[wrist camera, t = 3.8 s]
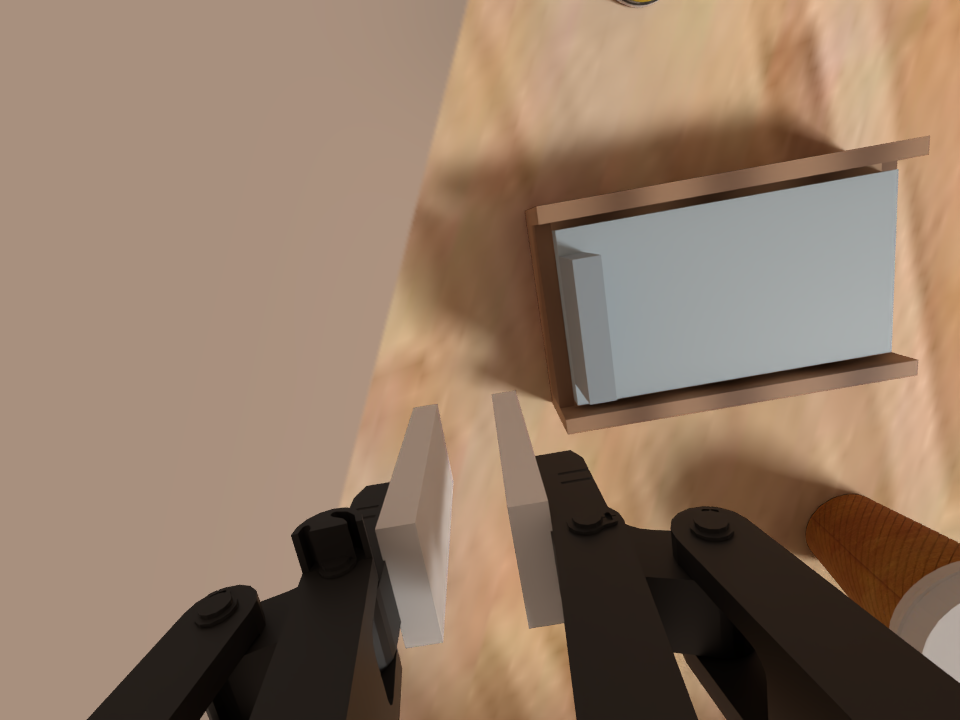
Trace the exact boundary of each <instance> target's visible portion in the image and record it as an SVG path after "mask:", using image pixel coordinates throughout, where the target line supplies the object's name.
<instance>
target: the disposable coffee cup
mask: <svg viewBox="0 0 960 720" xmlns="http://www.w3.org/2000/svg"><path fill="white" fill-rule="evenodd" d="M806 541H807V544H808V547H809V548H810V550H811V551H812V553H813V554H814V555H815V556H816V557H817V559H818V560H819V561H820V562H821V564H822V565H823V566H824V567H825V568H826V570H827V571H828V572H829V573H830V575H831V576H832V577H833V578H834V579H835V581H836V582H837V583H838V584H839V586H840V587H841V588H842V589H843V590H844V592H845V593H846V594H847V595H848V596H849V598H850V599H851V600H853V601H854V602H855V603H857V604H858V605H859V606H860V607H862V608H863V609H864V610H866V611H867V612H868V613H870V614H871V615H872V616H873V617H875V618H876V619H877V620H879V621H880V622H881V623H883V624H884V625H885V626H886V627H888V628H889V629H890V630H892V631H893V632H894V633H896V634H897V635H898V636H899V637H901V638H902V639H903V640H905V641H906V642H907V643H908V644H910V645H911V646H912V647H914V648H915V649H916V650H918V651H919V652H920V653H921V654H923V655H924V656H925V657H927V658H928V659H929V660H931V661H932V662H933V663H934V664H936V665H937V666H938V667H940V668H941V669H942V670H944V671H945V672H946V673H947V674H949V675H950V676H951V677H953V678H954V679H955V680H956V681H958V682H959V683H960V543H958V542H956V541H954V540H952V539H949V538H948V537H946V536H944V535H942V534H939V533H938V532H936V531H934V530H932V529H930V528H928V527H926V526H923V525H922V524H920V523H918V522H915V521H914V520H912V519H910V518H907V517H906V516H903V515H901V514H899V513H898V512H895V511H893V510H890V509H889V508H887V507H885V506H883V505H881V504H879V503H876V502H875V501H873V500H871V499H869V498H867V497H865V496H862V495H855V494H849V495H842V496H838V497H836V498H833V499H831V500H829V501H828V502H826V503H824V504H823V505H822V506H820V507H819V508H818V509H817V510H816V511H815V513H814V514H813V515H812V517H811V519H810V521H809V523H808V525H807V529H806Z"/></svg>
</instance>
